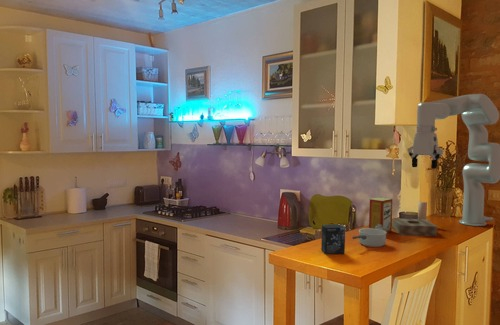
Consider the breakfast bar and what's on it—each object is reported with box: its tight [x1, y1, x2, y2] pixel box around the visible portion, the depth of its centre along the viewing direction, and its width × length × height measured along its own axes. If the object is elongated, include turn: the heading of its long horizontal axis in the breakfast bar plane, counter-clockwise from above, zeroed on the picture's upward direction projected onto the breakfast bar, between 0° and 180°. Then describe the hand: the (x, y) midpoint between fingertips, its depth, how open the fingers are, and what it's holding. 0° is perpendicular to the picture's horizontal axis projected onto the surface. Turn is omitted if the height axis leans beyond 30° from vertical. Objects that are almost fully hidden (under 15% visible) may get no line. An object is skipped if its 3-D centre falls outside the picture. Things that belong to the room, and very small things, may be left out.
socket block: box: [392, 217, 438, 237], centre depth 199 cm, size 16×16×4 cm
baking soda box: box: [368, 197, 393, 234], centre depth 198 cm, size 10×6×16 cm
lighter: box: [375, 220, 391, 231], centre depth 189 cm, size 7×2×8 cm, turn 43°
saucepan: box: [351, 228, 388, 248], centre depth 173 cm, size 12×20×6 cm, turn 133°
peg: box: [417, 201, 428, 220], centre depth 212 cm, size 4×4×12 cm
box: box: [320, 223, 346, 255], centre depth 163 cm, size 8×6×11 cm
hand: (424, 167), depth 190 cm, fingers open, 9 cm apart
